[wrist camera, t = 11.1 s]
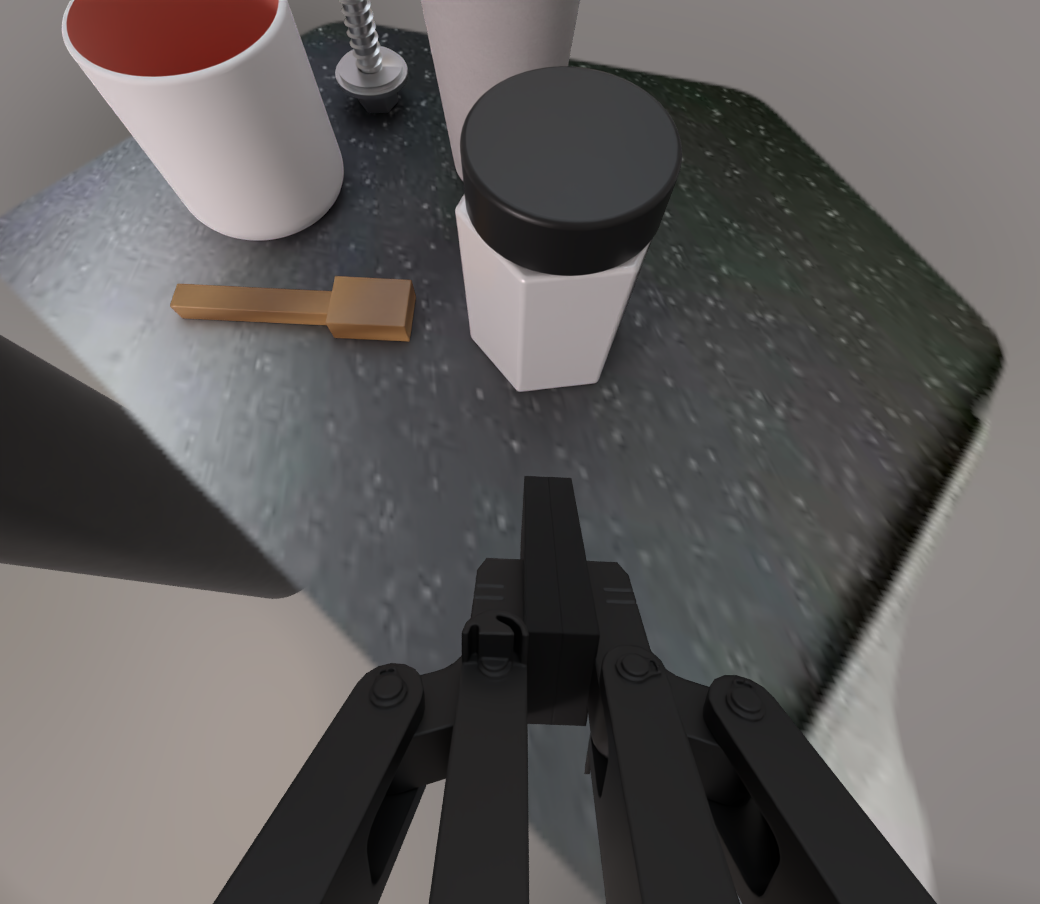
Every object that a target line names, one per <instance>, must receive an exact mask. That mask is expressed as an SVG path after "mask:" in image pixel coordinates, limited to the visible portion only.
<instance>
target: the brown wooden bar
mask: <svg viewBox="0 0 1040 904" xmlns="http://www.w3.org/2000/svg"><path fill="white" fill-rule="evenodd" d="M415 299H416V295H415V292H414V288H413V284H412V281H411V280H402V279H382V278H362V277H341V276H335V280H334V285H333V289H332V291H317V290H297V289H277V288H256V287H236V286H216V285H195V284H177V286H176V289H175V292H174V295H173V298H172V301H171V304H170V307H171V308H172V309H173V310H174V311H175V312H176V313H177V314H178V315H179V316H181V317H182V318H186V319H207V320H227V321H248V322H269V323H289V324H310V325H327V326H328V328H329V330H330V331H331V333H332V335H333V336H334V338H350V339H371V340H392V341H410V335H411V328H412V321H413V313H414V306H415Z"/></svg>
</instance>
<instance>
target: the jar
mask: <svg viewBox="0 0 1040 904" xmlns="http://www.w3.org/2000/svg"><path fill="white" fill-rule="evenodd" d="M460 154H461V164H462V174H463V184H464V195H463V197H462V198H461V200H460V202H459V204H458V205H457V207H456V210H455V213H456V221H457V229H458V237H459V245H460V253H461V261H462V269H463V277H464V285H465V293H466V301H467V309H468V317H469V325H470V333H471V337H472V339H473V340H474V341H475V342H476V344H477V345H478V346H479V347H480V348H481V349H482V351H483V352H484V353H485V354H486V355H487V356H488V358H489V359H490V360H491V361H492V362H493V363H494V365H495V366H496V367H497V368H498V369H499V370H500V372H501V373H502V374H503V375H504V376H505V377H506V379H507V380H508V381H509V382H510V383H511V384H512V386H513V387H514V388H515V389H516V390H517V391H519V392H522V391H531V390H540V389H549V388H558V387H566V386H575V385H584V384H593V383H597V382H598V380H599V378H600V376H601V373H602V371H603V368H604V366H605V363H606V360H607V358H608V355H609V353H610V350H611V348H612V345H613V343H614V340H615V338H616V335H617V333H618V330H619V328H620V325H621V322H622V320H623V317H624V314H625V312H626V309H627V306H628V304H629V301H630V298H631V295H632V293H633V290H634V287H635V285H636V282H637V279H638V277H639V274H640V271H641V268H642V266H643V263H644V260H645V258H646V255H647V252H648V249H649V247H650V244H651V241H652V239H653V237H654V235H655V234H656V232H657V230H658V228H659V225H660V223H661V220H662V217H663V215H664V212H665V209H666V207H667V204H668V201H669V199H670V196H671V193H672V191H673V188H674V185H675V183H676V180H677V177H678V175H679V171H680V168H681V161H682V146H681V140H680V137H679V133H678V130H677V128H676V126H675V123H674V122H673V120H672V118H671V116H670V115H669V114H668V112H667V111H666V110H665V108H664V107H663V106H662V105H661V104H660V103H659V102H658V101H657V100H656V99H655V98H654V97H653V96H651V95H650V94H649V93H648V92H646V91H645V90H643V89H642V88H640V87H639V86H637V85H635V84H633V83H632V82H630V81H627V80H625V79H623V78H621V77H618V76H616V75H613V74H610V73H607V72H603V71H599V70H595V69H589V68H583V67H570V66H559V67H546V68H540V69H534V70H530V71H526V72H523V73H520V74H517V75H514V76H512V77H509V78H507V79H505V80H503V81H501V82H499V83H498V84H496V85H495V86H493V87H492V88H490V89H489V90H488V91H486V92H485V93H484V94H483V95H482V96H481V97H480V98H479V99H478V100H477V101H476V103H475V104H474V105H473V107H472V108H471V110H470V111H469V113H468V115H467V117H466V118H465V121H464V124H463V126H462V131H461V136H460Z"/></svg>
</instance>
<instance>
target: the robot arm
mask: <svg viewBox="0 0 1040 904" xmlns="http://www.w3.org/2000/svg"><path fill="white" fill-rule="evenodd" d="M588 715H589V723H590V731H591V733H590V739H589V745H588V751H587V757H586V764H585V774H590V770H591V778H592V786H593V795H594V803H595V811H596V820H597V828H598V837H599V845H600V854H601V862H602V870H603V879H604V887H605V896H606V904H740V902H739V899H738V896H739V898H740V900H741V902H742V904H937V903H936V902H935V901H934V899H933V898H932V897H931V896H930V894H929V893H928V892H927V891H926V889H925V888H924V887H923V885H922V884H921V883H920V882H919V880H918V879H917V878H916V877H915V875H914V874H913V873H912V872H911V870H910V869H909V868H908V866H907V865H906V864H905V863H904V861H903V860H902V859H901V858H900V856H899V855H898V854H897V853H896V851H895V850H894V849H893V848H892V846H891V845H890V844H889V842H888V841H887V840H886V839H885V837H884V836H883V835H882V834H881V832H880V831H879V830H878V829H877V827H876V826H875V825H874V823H873V822H872V821H871V820H870V818H869V817H868V816H867V815H866V813H865V812H864V811H863V810H862V808H861V807H860V806H859V805H858V803H857V802H856V801H855V799H854V798H853V797H852V796H851V794H850V793H849V792H848V791H847V789H846V788H845V787H844V786H843V784H842V783H841V782H840V780H839V779H838V778H837V777H836V775H835V774H834V773H833V772H832V770H831V769H830V768H829V767H828V765H827V764H826V763H825V762H824V760H823V759H822V758H821V756H820V755H819V754H818V753H817V751H816V750H815V749H814V748H813V746H812V745H811V744H810V743H809V741H808V740H807V739H806V737H805V736H804V735H803V734H802V732H801V731H800V730H799V729H798V727H797V726H796V725H795V724H794V722H793V721H792V720H791V719H790V717H789V716H788V715H787V713H786V712H785V711H784V710H783V708H782V707H781V706H780V705H779V703H778V702H777V701H776V700H775V698H774V697H773V696H772V695H771V694H770V693H769V692H768V691H767V690H766V689H765V688H764V687H762V686H760V685H759V684H757V683H755V682H754V681H752V680H750V679H747V678H744V677H740V676H737V675H724V676H721V677H719V678H717V679H715V680H714V681H713V682H712V684H711V685H710V687H708V686H704V685H701V684H698V683H695V682H692V681H689V680H686V679H683V678H681V677H678V676H676V675H674V674H673V673H671V672H669V671H668V670H666V669H665V667H664V665H663V663H662V661H661V660H660V659H659V658H658V657H657V656H656V655H654V654H653V653H652V651H651V649H650V646H649V643H648V640H647V636H646V633H645V630H644V626H643V623H642V619H641V616H640V613H639V609H638V606H637V604H636V599H635V596H634V592H633V589H632V586H631V582H630V579H629V576H628V574H627V573H626V572H625V571H624V570H623V569H622V567H621V566H620V565H619V564H618V563H617V562H597V561H586V555H585V550H584V544H583V539H582V533H581V528H580V523H579V517H578V512H577V506H576V501H575V496H574V490H573V485H572V479H571V478H558V477H536V476H525V478H524V495H523V513H522V530H521V554H520V559H497V558H486V560H485V561H484V562H483V563H482V565H481V566H480V567H479V569H478V570H477V576H476V583H475V591H474V599H473V605H472V613H471V619H470V620H469V621H467V622H466V624H465V626H464V628H463V631H462V656H461V657H460V658H459V659H458V660H457V661H456V662H455V663H453V664H451V665H450V666H448V667H446V668H444V669H441V670H438V671H435V672H431V673H427V674H423V675H419V673H418V672H417V671H416V670H415V669H414V668H412V667H409V666H407V665H405V664H396V663H390V664H386V665H382V666H378V667H376V668H375V669H373V670H371V671H370V672H368V673H366V674H365V675H364V677H363V678H362V679H361V680H360V681H359V682H358V683H357V684H356V686H355V687H354V689H353V690H352V692H351V694H350V695H349V697H348V698H347V700H346V701H345V703H344V704H343V706H342V707H341V709H340V711H339V712H338V713H337V715H336V717H335V718H334V719H333V721H332V723H331V724H330V726H329V727H328V729H327V730H326V732H325V733H324V735H323V736H322V738H321V739H320V741H319V742H318V744H317V745H316V747H315V749H314V750H313V752H312V753H311V755H310V756H309V758H308V759H307V761H306V762H305V764H304V765H303V767H302V768H301V770H300V772H299V773H298V774H297V776H296V778H295V779H294V781H293V782H292V784H291V785H290V787H289V788H288V790H287V791H286V793H285V794H284V796H283V797H282V799H281V800H280V802H279V803H278V805H277V807H276V808H275V810H274V811H273V813H272V814H271V816H270V817H269V819H268V820H267V822H266V823H265V825H264V826H263V828H262V830H261V831H260V833H259V834H258V836H257V837H256V839H255V840H254V842H253V843H252V845H251V846H250V848H249V849H248V851H247V852H246V854H245V856H244V857H243V859H242V860H241V862H240V863H239V865H238V866H237V868H236V869H235V871H234V872H233V874H232V875H231V877H230V878H229V880H228V881H227V883H226V885H225V886H224V888H223V889H222V891H221V892H220V894H219V895H218V897H217V898H216V900H215V901H214V903H213V904H378V902H379V900H380V897H381V895H382V893H383V890H384V888H385V885H386V883H387V880H388V878H389V875H390V873H391V870H392V868H393V866H394V863H395V861H396V858H397V856H398V853H399V851H400V849H401V846H402V844H403V841H404V839H405V836H406V834H407V831H408V829H409V826H410V824H411V822H412V819H413V817H414V814H415V812H416V809H417V807H418V805H419V802H420V799H421V797H422V794H423V792H424V790H425V787H426V785H427V784H430V783H433V782H436V781H440V780H442V779H446V782H445V789H444V797H443V804H442V812H441V818H440V826H439V833H438V840H437V847H436V855H435V862H434V869H433V876H432V884H431V891H430V898H429V904H529V845H528V844H529V843H528V842H529V839H528V734H527V724H549V725H575V726H586V722H587V716H588ZM736 892H737V893H736ZM737 894H738V896H737Z"/></svg>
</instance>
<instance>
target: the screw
mask: <svg viewBox="0 0 1040 904" xmlns="http://www.w3.org/2000/svg"><path fill="white" fill-rule="evenodd" d="M338 1H339V2H340V3H342V5H343V7H342V9H341V12H342V14H343V15H345V16H346V18H345V20H344V24H345V25H346V26H348V28H349V29H348V31H347V35H348V36H349V37H351V39H352V40H351V41H350V46H351V47H352V48H354V50H351V51H350V52H348V53H347V54H345V55H344V56H343V57H342V59H341V61H340V62H339V63H338V65H337V67H336V71H335V74H336V79H337V82H338V85H339V87H340V88H341V89H342V91H344V92H345V93H346V94H348V95H350V96H352V97H354V98H358V99H359V102H360V103H361V104H362V106H363V107H364V108H365V110H366V111H367V112H368V113H388V112H389V111H390V110H391V109H392V108H393V107H394V106H395V105H396V104H397V102H398V96H397V92H398V91H400V90H401V89H402V88H403V87H404V85H405V84H406V82H407V79H408V69H407V65H406V62H405V61H404V59H403V58H402V57H401V56H400V55H398V54H397V53H395V52H394V51H392V50H390V49H388V48H386V47H381V46H380V44H379V42H378V41H377V40H378V34H377V32H376V31H375V28H376V25H375V22H374V20H373V19H372V18H373V12H372V10H371V9H370V5H371V2H370V0H338Z"/></svg>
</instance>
